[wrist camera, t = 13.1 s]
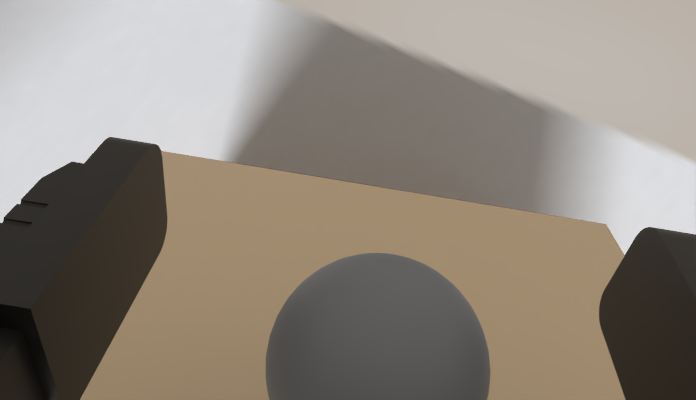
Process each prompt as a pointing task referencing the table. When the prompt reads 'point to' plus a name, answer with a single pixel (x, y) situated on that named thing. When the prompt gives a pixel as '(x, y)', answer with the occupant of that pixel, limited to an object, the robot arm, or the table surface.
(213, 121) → the table surface
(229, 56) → the table surface
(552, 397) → the carton flap
